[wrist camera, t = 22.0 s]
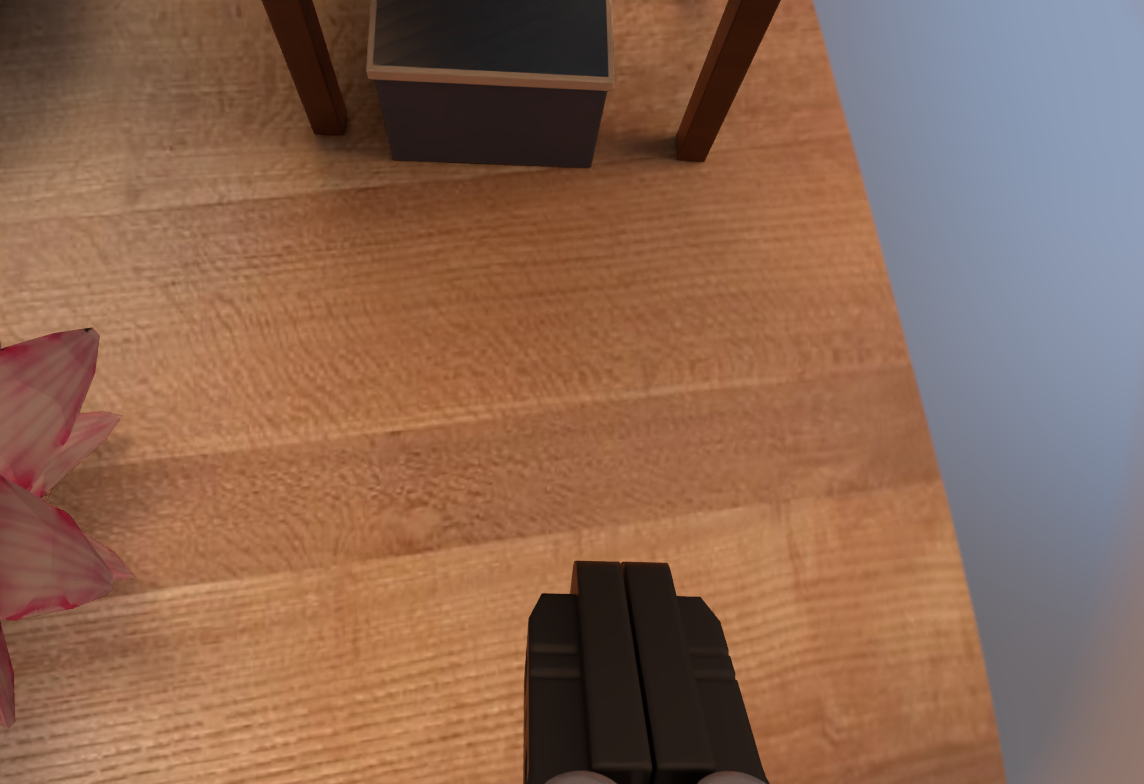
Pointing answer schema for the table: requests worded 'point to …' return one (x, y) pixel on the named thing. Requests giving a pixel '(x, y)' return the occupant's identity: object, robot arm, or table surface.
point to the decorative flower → (46, 485)
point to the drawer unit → (697, 132)
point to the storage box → (492, 78)
